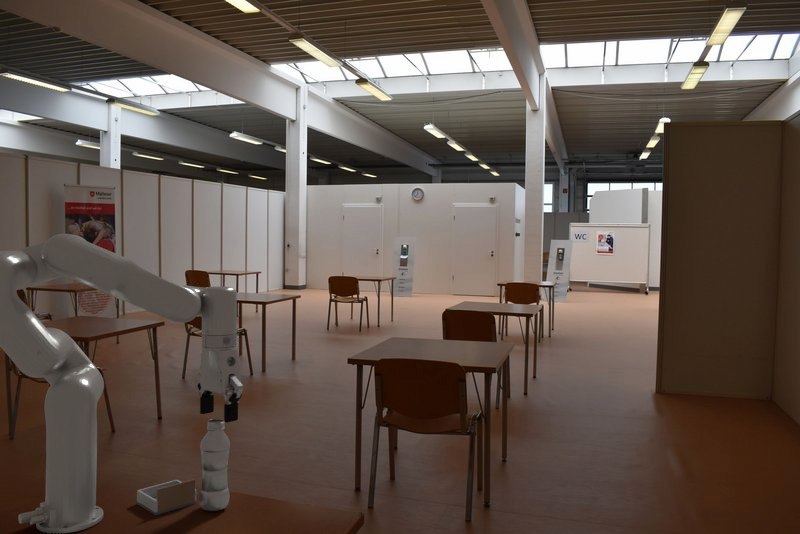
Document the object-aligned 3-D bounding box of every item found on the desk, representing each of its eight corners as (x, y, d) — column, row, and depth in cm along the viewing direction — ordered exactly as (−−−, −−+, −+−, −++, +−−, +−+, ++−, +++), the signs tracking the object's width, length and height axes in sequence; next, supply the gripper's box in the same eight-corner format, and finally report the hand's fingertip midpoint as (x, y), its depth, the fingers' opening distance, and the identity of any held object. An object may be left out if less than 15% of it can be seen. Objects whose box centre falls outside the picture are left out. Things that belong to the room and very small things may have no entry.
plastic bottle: (220, 516, 137) (223, 425, 136) (192, 512, 138) (195, 423, 138) (234, 504, 143) (236, 418, 143) (207, 501, 144) (209, 416, 144)
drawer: (155, 515, 136) (156, 490, 136) (136, 503, 142) (137, 479, 142) (196, 502, 143) (197, 478, 143) (176, 492, 149) (177, 469, 149)
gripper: (256, 344, 137) (255, 421, 137) (212, 336, 148) (212, 407, 149) (226, 347, 131) (225, 428, 132) (183, 339, 143) (183, 413, 143)
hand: (218, 417), depth 140 cm, fingers open, 9 cm apart
